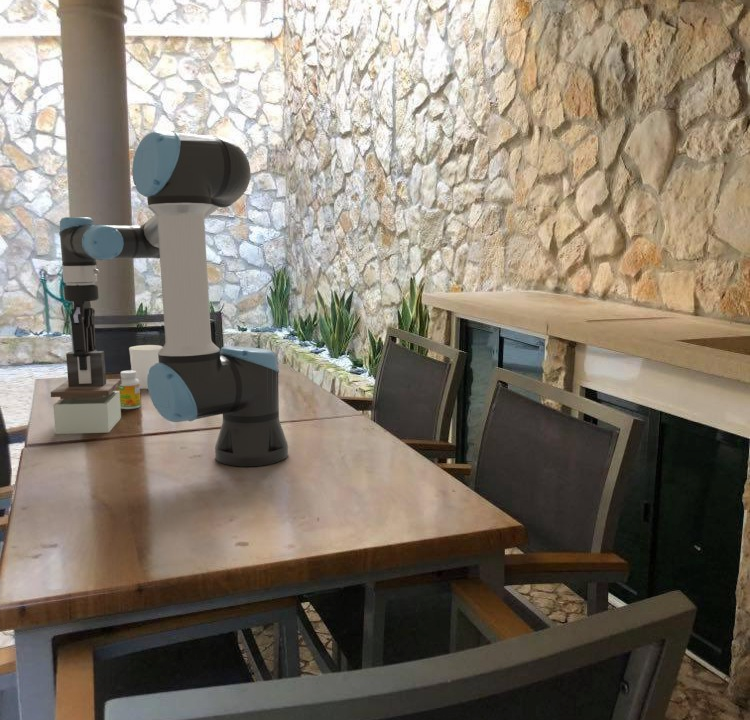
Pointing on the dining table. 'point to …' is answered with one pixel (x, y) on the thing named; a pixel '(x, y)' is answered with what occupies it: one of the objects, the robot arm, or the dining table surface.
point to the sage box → (87, 414)
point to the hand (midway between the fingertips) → (87, 381)
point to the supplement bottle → (129, 390)
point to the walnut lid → (90, 390)
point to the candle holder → (143, 361)
